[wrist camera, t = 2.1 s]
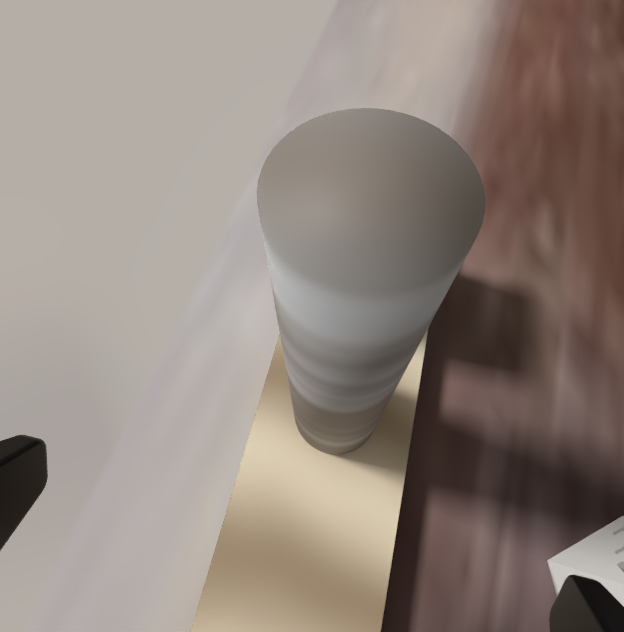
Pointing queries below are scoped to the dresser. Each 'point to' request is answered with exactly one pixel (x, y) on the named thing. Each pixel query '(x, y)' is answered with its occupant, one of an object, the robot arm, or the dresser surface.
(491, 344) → the dresser surface
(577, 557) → the die
